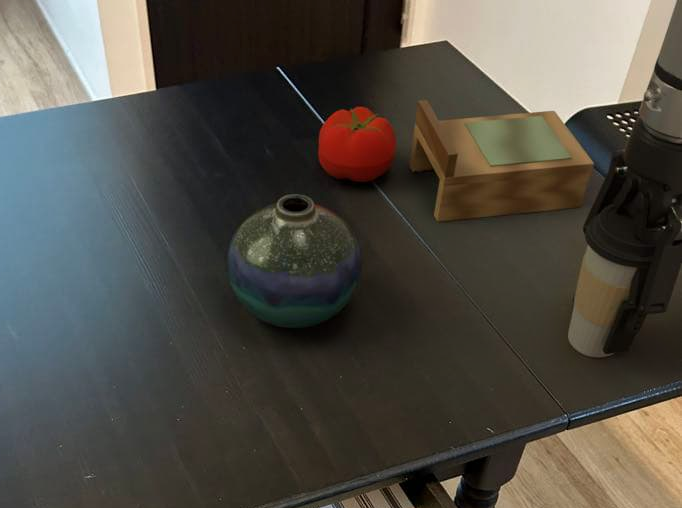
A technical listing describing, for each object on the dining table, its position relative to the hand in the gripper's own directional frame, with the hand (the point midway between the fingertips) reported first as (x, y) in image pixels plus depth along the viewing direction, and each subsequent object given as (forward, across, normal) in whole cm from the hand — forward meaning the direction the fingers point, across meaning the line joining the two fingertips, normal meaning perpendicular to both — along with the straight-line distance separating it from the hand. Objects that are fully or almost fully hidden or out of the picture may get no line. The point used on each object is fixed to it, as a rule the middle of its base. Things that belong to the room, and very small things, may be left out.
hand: (599, 325), depth 93 cm
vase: (+2, -12, -33) cm, 35 cm away
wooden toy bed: (+2, -33, -1) cm, 33 cm away
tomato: (+2, -40, -19) cm, 44 cm away
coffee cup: (+2, 0, 0) cm, 2 cm away
